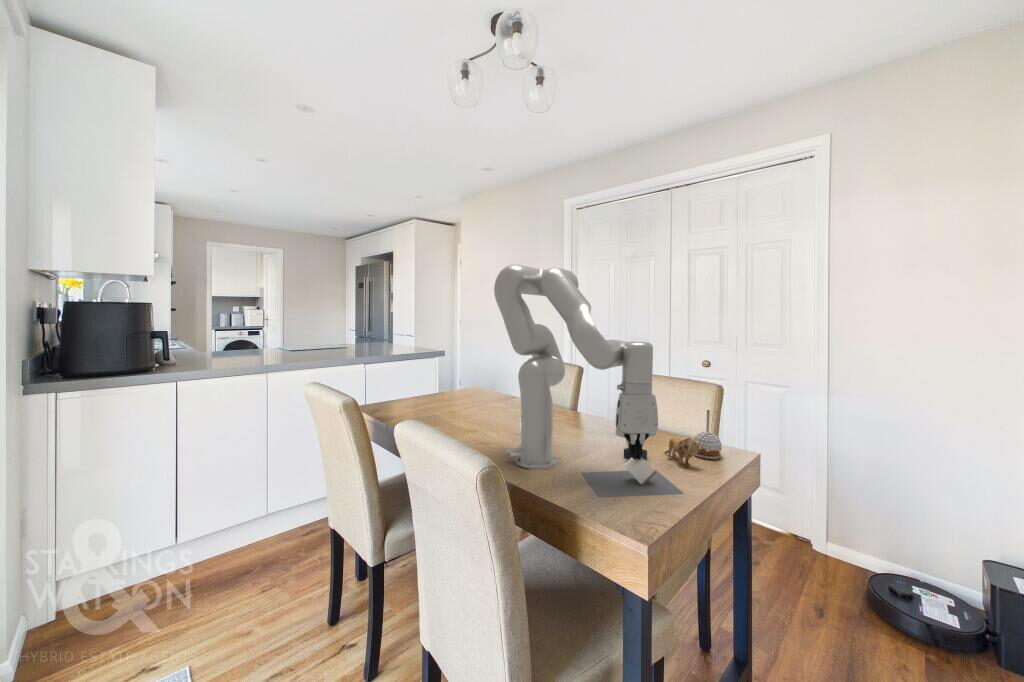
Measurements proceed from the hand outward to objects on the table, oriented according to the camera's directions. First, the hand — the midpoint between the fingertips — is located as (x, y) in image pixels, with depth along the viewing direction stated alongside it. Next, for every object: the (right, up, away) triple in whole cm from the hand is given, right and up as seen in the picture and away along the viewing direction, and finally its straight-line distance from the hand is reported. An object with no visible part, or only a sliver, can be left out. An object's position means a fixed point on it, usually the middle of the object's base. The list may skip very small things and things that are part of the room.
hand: (635, 457), depth 110 cm
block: (0, -1, 0) cm, 1 cm away
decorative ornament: (+29, -6, +23) cm, 38 cm away
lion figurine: (+19, -6, +17) cm, 26 cm away
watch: (+6, -6, +19) cm, 21 cm away
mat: (-1, -7, 0) cm, 7 cm away
